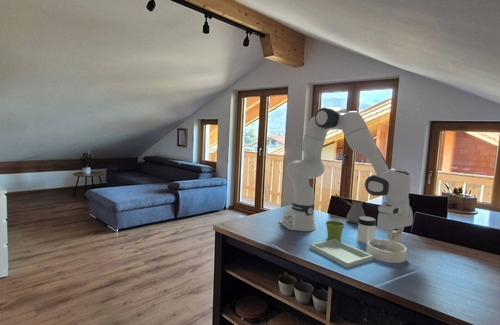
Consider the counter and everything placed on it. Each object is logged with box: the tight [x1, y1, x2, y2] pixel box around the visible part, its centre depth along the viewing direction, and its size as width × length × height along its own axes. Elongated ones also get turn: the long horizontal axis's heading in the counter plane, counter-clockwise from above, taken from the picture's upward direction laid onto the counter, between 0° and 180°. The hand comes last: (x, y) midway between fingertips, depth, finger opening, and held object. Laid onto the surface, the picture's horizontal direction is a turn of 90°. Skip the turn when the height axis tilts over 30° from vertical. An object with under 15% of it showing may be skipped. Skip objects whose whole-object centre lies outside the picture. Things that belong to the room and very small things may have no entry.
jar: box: [356, 215, 377, 246], centre depth 147 cm, size 9×8×12 cm
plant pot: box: [325, 220, 345, 241], centre depth 149 cm, size 9×9×9 cm
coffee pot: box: [333, 194, 366, 225], centre depth 184 cm, size 21×12×15 cm, turn 45°
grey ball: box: [374, 242, 385, 250], centre depth 133 cm, size 4×4×4 cm
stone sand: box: [388, 230, 402, 243], centre depth 127 cm, size 4×4×4 cm
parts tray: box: [309, 239, 374, 269], centre depth 130 cm, size 22×16×2 cm
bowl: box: [365, 238, 408, 264], centre depth 130 cm, size 16×16×5 cm
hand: (394, 237), depth 127 cm, fingers closed on stone sand, 4 cm apart
